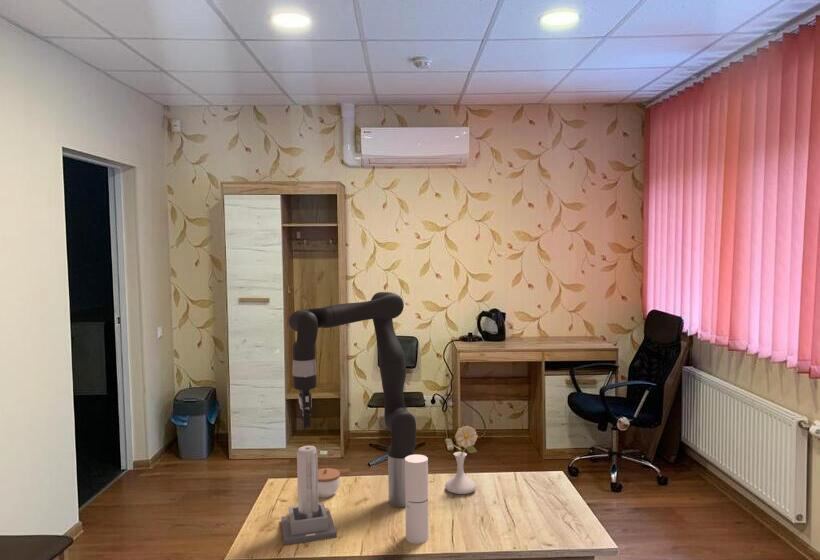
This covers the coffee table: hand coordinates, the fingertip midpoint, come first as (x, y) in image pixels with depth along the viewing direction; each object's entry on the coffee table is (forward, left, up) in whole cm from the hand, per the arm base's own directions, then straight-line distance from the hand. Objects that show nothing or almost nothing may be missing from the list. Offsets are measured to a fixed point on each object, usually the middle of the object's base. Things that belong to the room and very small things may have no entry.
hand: (305, 423), depth 180 cm
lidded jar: (-9, -25, -35) cm, 44 cm away
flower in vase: (-58, -12, -35) cm, 69 cm away
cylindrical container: (-32, +16, -35) cm, 50 cm away
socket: (0, 0, -35) cm, 35 cm away
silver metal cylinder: (0, 0, -33) cm, 33 cm away
